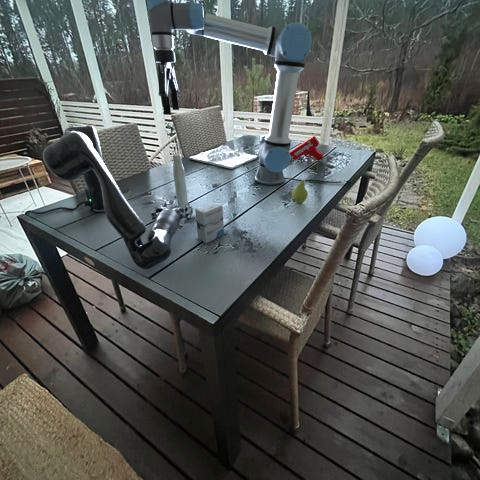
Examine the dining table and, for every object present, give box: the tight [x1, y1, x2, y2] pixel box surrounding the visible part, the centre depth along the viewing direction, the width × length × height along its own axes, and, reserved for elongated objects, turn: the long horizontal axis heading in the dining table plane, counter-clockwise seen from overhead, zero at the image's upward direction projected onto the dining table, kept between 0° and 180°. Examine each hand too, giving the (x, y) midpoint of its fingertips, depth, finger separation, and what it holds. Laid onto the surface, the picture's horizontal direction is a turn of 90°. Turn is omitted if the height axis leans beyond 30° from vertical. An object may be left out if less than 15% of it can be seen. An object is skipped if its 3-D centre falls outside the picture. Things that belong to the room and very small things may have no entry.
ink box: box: [194, 201, 225, 244], centre depth 94 cm, size 8×5×12 cm, turn 135°
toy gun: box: [289, 135, 324, 163], centre depth 172 cm, size 18×4×15 cm
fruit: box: [291, 174, 311, 204], centre depth 118 cm, size 7×8×12 cm
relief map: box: [189, 144, 258, 170], centre depth 177 cm, size 27×35×5 cm
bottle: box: [172, 153, 189, 211], centre depth 111 cm, size 4×4×23 cm
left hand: (176, 204), depth 105 cm, fingers open, 8 cm apart
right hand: (172, 112), depth 113 cm, fingers open, 13 cm apart
